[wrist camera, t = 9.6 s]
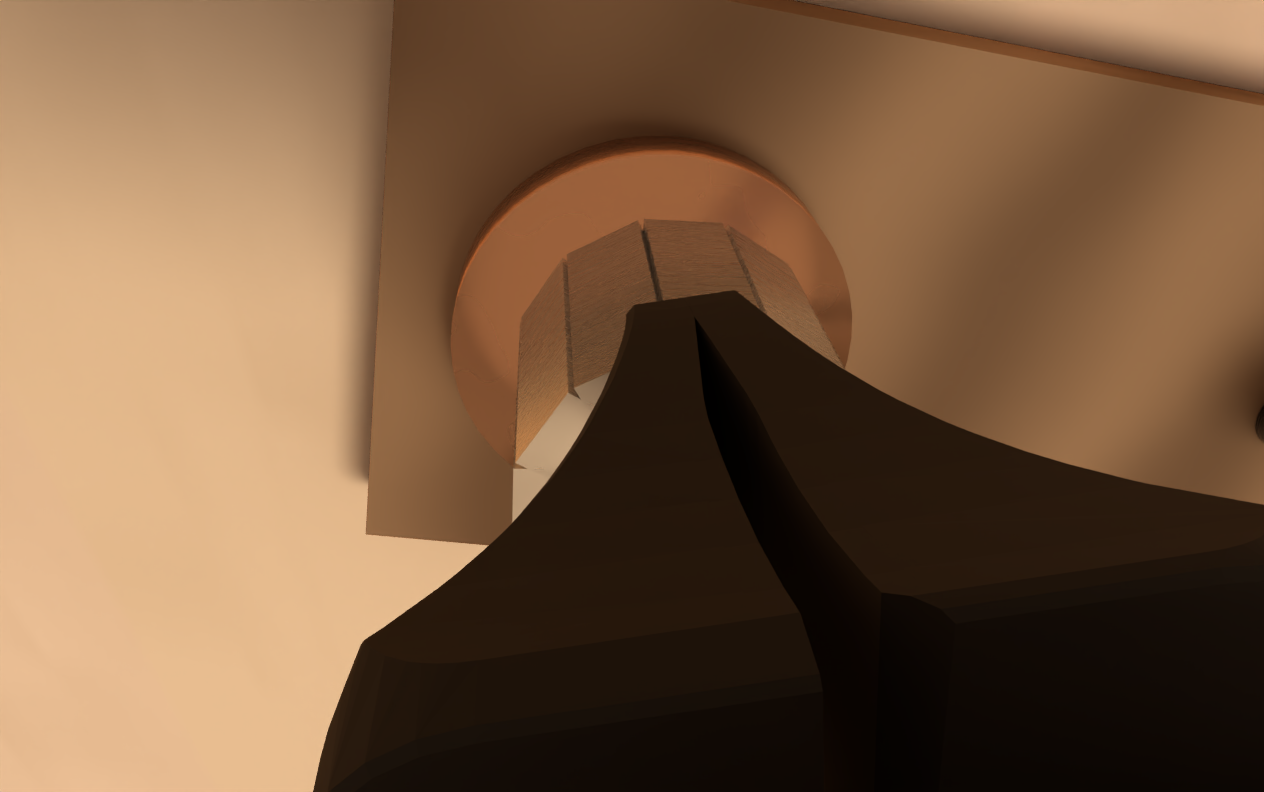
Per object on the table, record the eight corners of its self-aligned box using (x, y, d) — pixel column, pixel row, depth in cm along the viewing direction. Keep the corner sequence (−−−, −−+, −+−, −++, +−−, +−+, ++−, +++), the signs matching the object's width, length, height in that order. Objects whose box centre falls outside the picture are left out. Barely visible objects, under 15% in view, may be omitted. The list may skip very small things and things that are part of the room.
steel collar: (749, 167, 14) (814, 280, 11) (849, 408, 17) (926, 561, 13) (463, 303, 15) (439, 448, 12) (600, 513, 17) (613, 682, 14)
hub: (757, 59, 14) (842, 162, 10) (882, 391, 18) (982, 563, 14) (378, 247, 15) (319, 405, 11) (566, 524, 19) (572, 719, 15)
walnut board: (1611, 163, 18) (1693, 190, 17) (1296, 577, 24) (1339, 621, 22) (410, -76, 14) (397, -65, 13) (377, 487, 20) (365, 534, 19)
